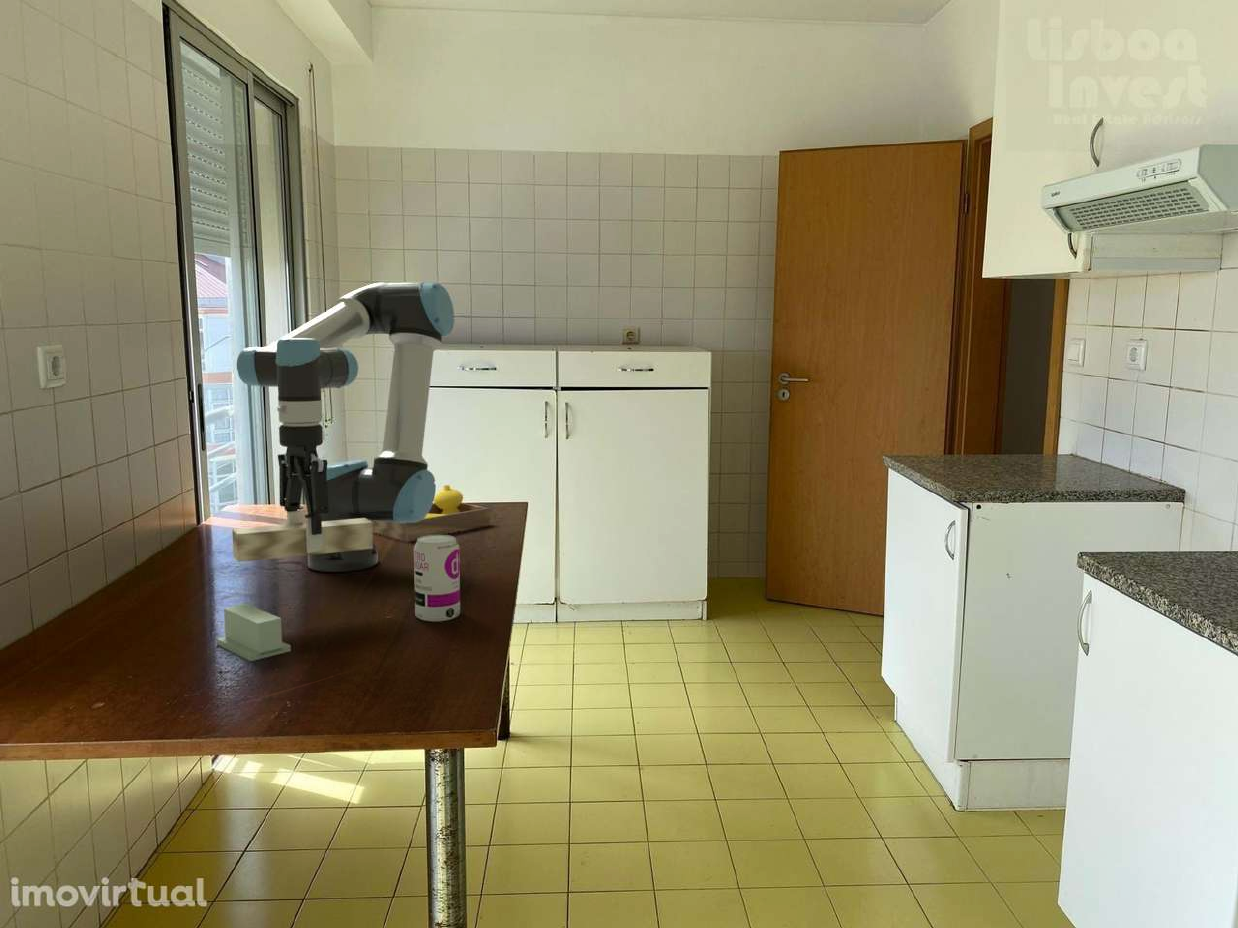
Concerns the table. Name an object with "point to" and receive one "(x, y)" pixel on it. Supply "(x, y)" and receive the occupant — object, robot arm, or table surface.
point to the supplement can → (437, 578)
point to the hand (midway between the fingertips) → (305, 548)
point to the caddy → (436, 523)
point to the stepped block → (252, 633)
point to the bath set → (447, 501)
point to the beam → (300, 539)
